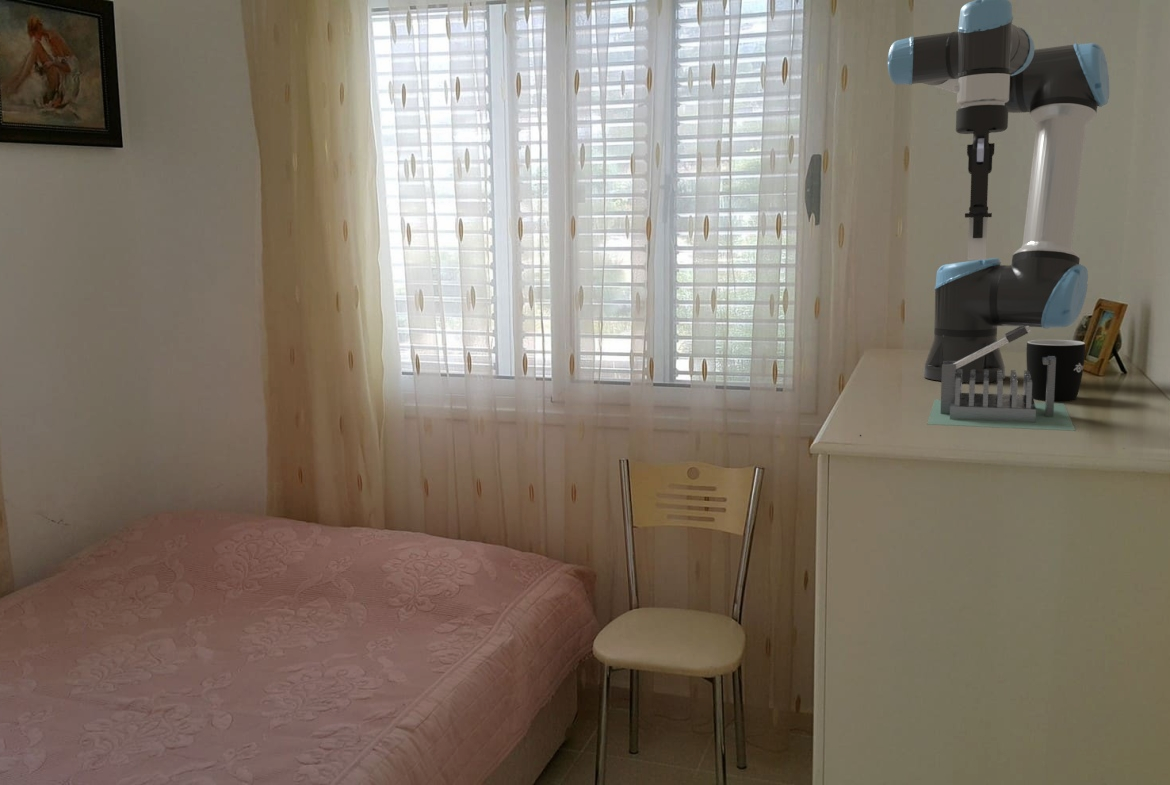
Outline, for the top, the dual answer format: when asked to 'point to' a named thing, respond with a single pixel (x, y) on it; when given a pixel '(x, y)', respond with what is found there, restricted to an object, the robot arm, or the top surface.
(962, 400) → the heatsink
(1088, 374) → the top surface
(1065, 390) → the mug
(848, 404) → the top surface
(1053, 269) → the robot arm
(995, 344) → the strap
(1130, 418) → the top surface
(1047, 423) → the board
